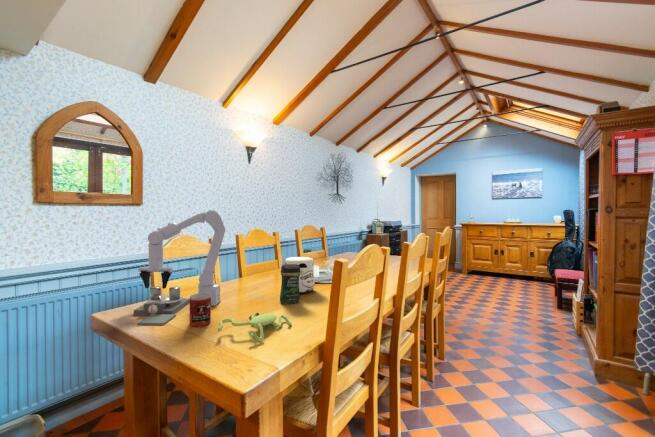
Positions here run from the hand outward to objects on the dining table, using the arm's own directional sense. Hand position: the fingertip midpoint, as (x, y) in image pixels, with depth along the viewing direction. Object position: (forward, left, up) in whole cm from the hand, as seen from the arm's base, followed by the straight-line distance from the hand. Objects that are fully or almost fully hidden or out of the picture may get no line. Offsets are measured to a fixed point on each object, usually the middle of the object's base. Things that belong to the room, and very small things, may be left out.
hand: (155, 287), depth 141 cm
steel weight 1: (0, 0, -5) cm, 5 cm away
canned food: (-27, +19, -9) cm, 35 cm away
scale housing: (-4, +1, -9) cm, 10 cm away
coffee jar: (-59, -11, -9) cm, 61 cm away
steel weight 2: (-8, 0, -5) cm, 10 cm away
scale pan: (-4, 0, -5) cm, 7 cm away
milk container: (-62, -31, -9) cm, 70 cm away
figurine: (-50, +25, -9) cm, 57 cm away
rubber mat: (-9, +16, -9) cm, 21 cm away
